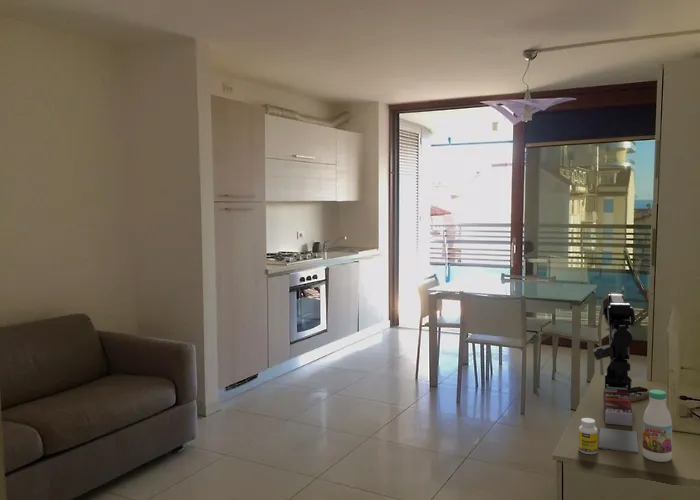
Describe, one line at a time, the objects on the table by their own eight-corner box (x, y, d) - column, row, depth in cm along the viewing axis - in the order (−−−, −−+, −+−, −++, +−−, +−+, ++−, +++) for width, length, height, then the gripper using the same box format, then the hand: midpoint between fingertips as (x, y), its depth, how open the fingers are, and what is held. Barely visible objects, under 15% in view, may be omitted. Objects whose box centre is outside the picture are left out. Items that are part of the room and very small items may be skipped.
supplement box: (605, 411, 203) (602, 388, 217) (605, 423, 204) (602, 399, 218) (633, 413, 200) (629, 389, 214) (633, 426, 201) (628, 401, 215)
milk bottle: (641, 450, 183) (642, 386, 181) (670, 453, 180) (671, 388, 178) (643, 460, 176) (643, 394, 174) (673, 464, 173) (673, 397, 171)
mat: (600, 429, 200) (600, 427, 200) (636, 433, 195) (636, 431, 195) (598, 448, 185) (598, 446, 185) (638, 453, 181) (638, 451, 181)
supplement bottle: (580, 454, 182) (579, 422, 181) (577, 446, 187) (577, 416, 186) (599, 455, 180) (599, 423, 180) (595, 447, 186) (595, 417, 185)
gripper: (595, 332, 217) (595, 374, 218) (593, 344, 200) (593, 389, 201) (629, 333, 213) (629, 376, 214) (630, 346, 196) (630, 392, 197)
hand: (619, 383), depth 207 cm, fingers closed
